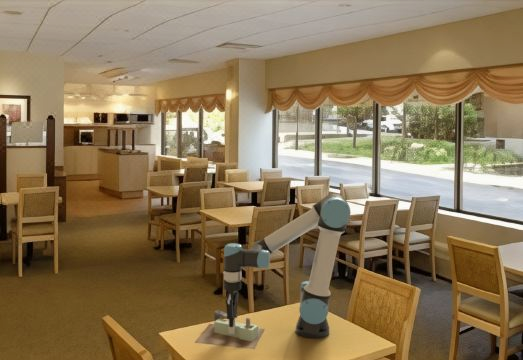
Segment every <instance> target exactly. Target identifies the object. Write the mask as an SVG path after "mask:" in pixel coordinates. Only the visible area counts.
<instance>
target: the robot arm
mask: <svg viewBox="0 0 523 360" xmlns="http://www.w3.org/2000/svg"><path fill="white" fill-rule="evenodd" d="M350 217H351V208H350V205H349V204H348V201H347V200H346V198H345V197H344V196H343V195H341V194H338V193H329V194H328V195H326V196H324V197H323V198H322V199H321V200H319V201H318V202H316V203H314V204H313V205H312V207H311V209H309V210H308V211H306V212H304V213H303V214H301V215H300V216H298V217H296V218H294V219H293V220H292V221H290V222H288V223H286V224H285V225H284V226H282V227H280V228H278V229H277V230H275V231H274V232H272V233H270V234H269V235H267V236H265V237H264V238H262V239H261V240H257V241H256V242H254V243H253V244H252V245H251V248H250V249H245V248H243V246H242V244H240V243H235V242H233V243H227V244H226V245H224V250H223V251H224V252H223V253H224V254H223V272H222V274H223V289H224V290H225V291H227V294H226V300H225V306H226V313H227V318H226V320H228V321H229V330H228V333H229V334H235V322H237V320H236V319H238V317H239V316H238V302H239V294H240V293H239V291H241V289H242V276H243V275H242V268H252V269H253V268H256V269H268V268H269V267H270V263H271V255H272V254H274V253H275V252H276V251H278V250H279V249H281V248H283V247H284V246H287V245H288V244H289V243H291V242H293V241H295V240H296V239H297V238H299V237H301V236H302V235H304V234H306V233H308V232H309V231H312V229H314V228H316V227H318V229H319V234H318V239H317V242H316V244H317V245H316V248H315V252H314V257H313V262H312V266H311V269H310V270H311V271H310V274H309V275H310V276H309V278H308V280H306V281H302V282H301V284H300V288H299V289H300V298H299V300H300V301H299V316H298V319H297V322H296V325H295V333H296V334H297V335H299V336H301V337H304V338H308V339H321V338H325V337H328V336H329V335H330V325H329V322H328V318H327V317H328V314H329V304H330V300H331V295H332V293H331V291H330V289H329V287H330V283H331V279H332V275H333V270H334V266H335V262H336V256H337V251H338V247H339V242H340V239H341V235H342V234H344V233H345V232H346V229H347V224H348V222H349V219H350Z"/></svg>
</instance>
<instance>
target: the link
mask: <svg viewBox="0 0 523 360" xmlns="http://www.w3.org/2000/svg"><path fill="white" fill-rule="evenodd" d="M213 324H214V333H219V334H223V335H228V336H233V337H238V338H239V339H242V340H247V341H253V340H254V339H256V338H257V337H258V328H259V325H257V324H252V323H250V328H246V322H245V323H243V322H237V321H236V322H235V334H229V333H228V330H229V319H222V318H221V319H218V320H216V321H215V320H214V323H213Z"/></svg>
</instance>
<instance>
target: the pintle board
mask: <svg viewBox="0 0 523 360" xmlns="http://www.w3.org/2000/svg"><path fill="white" fill-rule="evenodd" d="M222 318H224V319H227V312H225V311H222V310H217V309H216V310H215V311H214V322H215V321H216V320H218V319H222ZM245 323H246V328H250V324H251V318H250V317H246V318H245ZM265 330H266V328H259V327H258V337H257V338H256V339H254V340H253V341H247V340H242V339H239V338H238V337H233V336H228V335H223V334H219V333H214V323H209V324H208V325H207V327H205V328H204V330H203V331H202V333H200V335H199V336H198V337H197V338H196V340H195V341H194V343H195V344H205V345H213V346H222V347H234V348H241V349H251V350H252V349H253V350H255V349H256V347H257V345H258V343H259V341H260V339H261V338H262V336H263V334H264V331H265Z"/></svg>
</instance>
